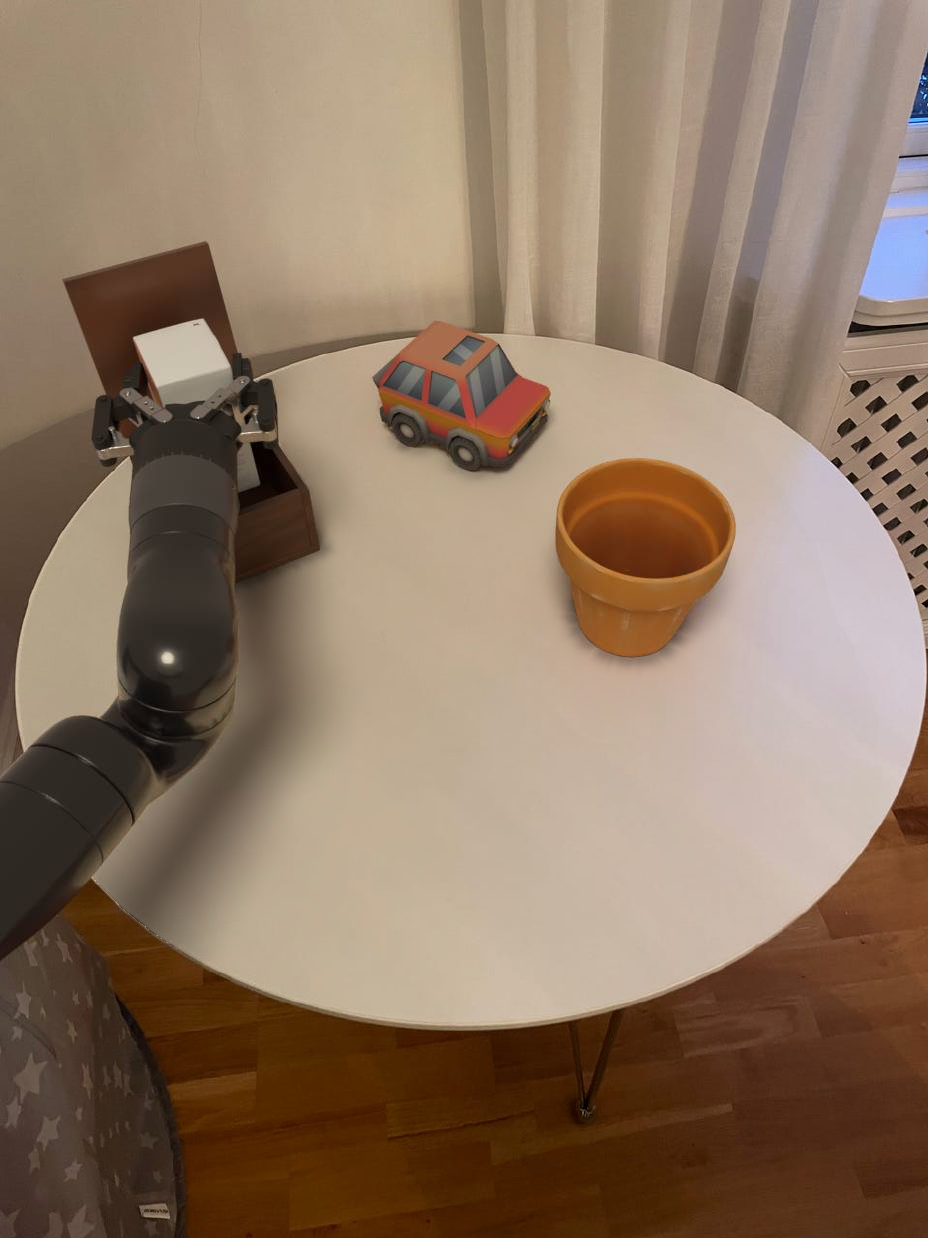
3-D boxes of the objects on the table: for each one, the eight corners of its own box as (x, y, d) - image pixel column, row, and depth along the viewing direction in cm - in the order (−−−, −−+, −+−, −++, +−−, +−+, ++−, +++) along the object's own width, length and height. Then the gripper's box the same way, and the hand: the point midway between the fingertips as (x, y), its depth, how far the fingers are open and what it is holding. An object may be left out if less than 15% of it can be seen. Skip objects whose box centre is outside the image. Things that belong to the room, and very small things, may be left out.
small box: (170, 456, 88) (130, 334, 78) (235, 436, 90) (204, 315, 80) (194, 509, 83) (155, 386, 73) (262, 486, 85) (232, 364, 75)
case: (320, 550, 90) (309, 490, 84) (194, 599, 86) (174, 539, 80) (263, 462, 98) (250, 402, 92) (146, 503, 94) (124, 443, 88)
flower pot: (521, 648, 82) (528, 545, 72) (580, 543, 90) (594, 438, 80) (675, 706, 78) (706, 606, 68) (723, 591, 86) (756, 487, 76)
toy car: (502, 486, 96) (506, 407, 88) (368, 431, 101) (360, 352, 94) (556, 425, 102) (563, 346, 94) (427, 376, 107) (423, 298, 100)
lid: (208, 242, 81) (205, 240, 82) (63, 281, 77) (61, 278, 78) (250, 400, 91) (248, 396, 92) (124, 441, 87) (122, 438, 88)
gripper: (275, 446, 66) (268, 318, 76) (66, 469, 64) (88, 335, 75) (291, 523, 71) (282, 394, 82) (99, 546, 70) (115, 412, 80)
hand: (189, 366), depth 78 cm, fingers closed on small box, 7 cm apart
